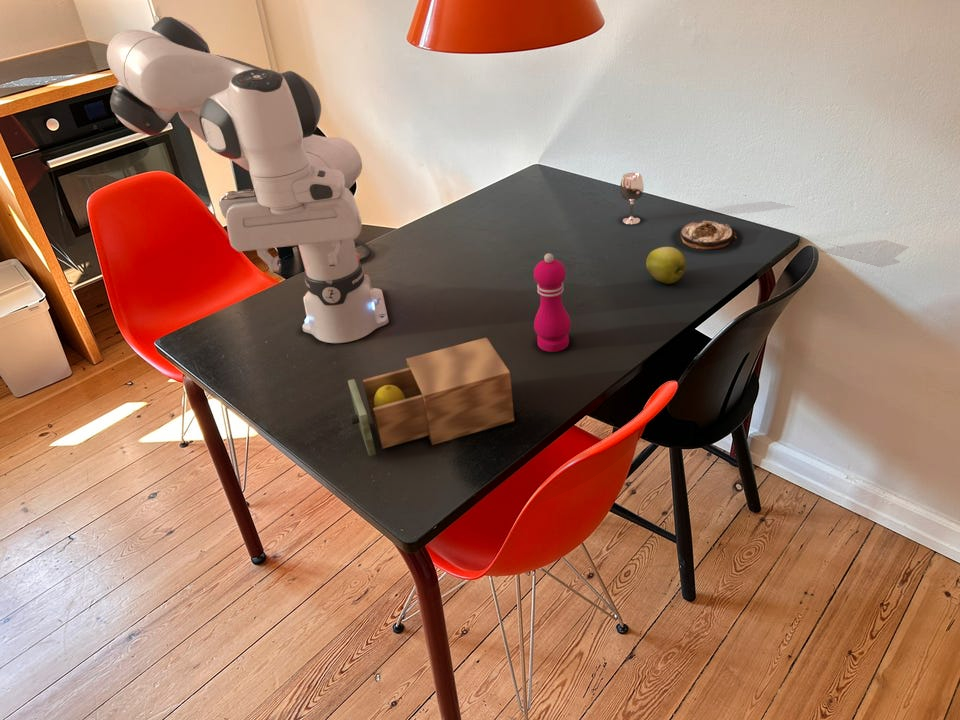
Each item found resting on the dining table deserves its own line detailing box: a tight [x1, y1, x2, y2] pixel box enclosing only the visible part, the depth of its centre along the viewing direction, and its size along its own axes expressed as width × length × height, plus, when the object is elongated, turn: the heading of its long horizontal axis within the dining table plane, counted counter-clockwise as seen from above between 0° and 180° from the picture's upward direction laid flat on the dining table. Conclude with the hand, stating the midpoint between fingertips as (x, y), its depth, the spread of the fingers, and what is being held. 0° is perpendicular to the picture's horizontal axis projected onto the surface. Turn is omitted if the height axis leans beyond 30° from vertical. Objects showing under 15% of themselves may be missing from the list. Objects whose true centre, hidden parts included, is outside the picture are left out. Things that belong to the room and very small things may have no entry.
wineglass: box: [619, 172, 645, 225], centre depth 194 cm, size 6×6×12 cm
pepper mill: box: [533, 252, 572, 353], centre depth 148 cm, size 7×7×20 cm
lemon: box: [374, 385, 405, 408], centre depth 132 cm, size 6×6×8 cm
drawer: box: [347, 367, 430, 457], centre depth 132 cm, size 15×11×9 cm
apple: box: [645, 246, 687, 285], centre depth 167 cm, size 8×9×8 cm
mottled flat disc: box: [679, 220, 737, 251], centre depth 184 cm, size 15×15×4 cm
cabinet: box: [405, 337, 515, 446], centre depth 135 cm, size 15×12×11 cm
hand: (305, 267), depth 122 cm, fingers open, 8 cm apart
